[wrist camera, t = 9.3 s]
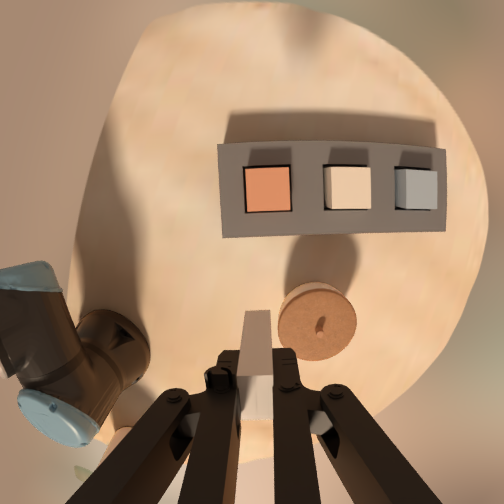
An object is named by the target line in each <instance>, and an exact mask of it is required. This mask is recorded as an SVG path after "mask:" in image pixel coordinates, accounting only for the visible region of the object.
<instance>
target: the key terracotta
mask: <svg viewBox="0 0 504 504" xmlns="http://www.w3.org/2000/svg"><path fill="white" fill-rule="evenodd" d="M245 172H246V192H247V211H248V212H251V211H276V210H290V185H289V167H282V168H256V169H245Z"/></svg>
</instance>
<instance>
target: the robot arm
mask: <svg viewBox="0 0 504 504" xmlns="http://www.w3.org/2000/svg"><path fill="white" fill-rule="evenodd" d="M62 292H63V290H62V288H60V286H59V283H58V281H57V278H56V276H55V273H54V270H53V268H52V266H51V265H50V264H49V263H47V262H45V261H35V262H30V263H26V264H22V265H18V266H13V267H9V268H4V269H0V377H1V378H4V379H7V378H9V377H11V376H12V375H14V374H16V376H17V378H18V379H19V381H20V383H21V385H22V387H23V389H22V390H20V391H19V395H18V397H17V400H18V405H19V408H20V409H21V411H22V413H23V415H24V416H25V417H26V418H27V420H28V421H29V422H30V423H31V424H32V425H33V426H34V427H35V428H37V429H38V430H39V431H40V432H42V433H43V434H44V435H46V436H47V437H49V438H50V439H52V440H54V441H56V442H58V443H60V444H63V445H66V446H69V447H75V448H78V447H84V446H86V445H88V444H89V443H90V442H91V440H92V439H93V437H94V436H95V435H96V434H97V433H98V432H99V430H100V428H101V426H102V425H103V423H104V421H105V419H106V418H107V416H108V414H109V412H110V411H111V409H112V407H113V405H114V404H115V402H116V400H117V399H118V397H119V395H120V394H121V392H122V391H123V390H125V389H127V388H128V387H130V386H131V385H132V384H134V383H136V382H138V381H139V380H140V379H141V378H142V377H143V375H144V374H145V372H146V370H147V368H148V366H149V363H150V352H149V347H148V344H147V342H146V340H145V338H144V336H143V335H142V333H141V332H140V331H139V329H138V328H137V327H136V326H135V325H134V324H133V323H132V322H131V321H129V320H128V319H127V318H125V317H124V316H122V315H120V314H118V313H116V312H113V311H109V310H96V311H93V312H90V313H89V314H87V315H86V316H85V317H84V318H83V319H82V320H81V321H80V322H79V323H78V325H77V327H76V328H75V326H74V323H73V321H72V318H71V316H70V313H69V310H68V307H67V305H66V302H65V299H64V296H63V293H62ZM204 377H205V383H206V388H207V389H206V391H204V392H202V393H198V394H193V395H189V394H188V392H187V391H186V390H183V389H180V388H173V389H169V390H166V391H164V392H163V393H162V394H161V395H160V396H159V397H158V398H157V400H156V401H155V402H154V403H153V404H152V405H151V407H150V408H149V409H148V410H147V411H146V412H145V414H144V415H143V416H142V417H141V418H140V419H139V421H138V422H137V423H136V424H135V425H134V426H133V428H132V429H131V430H130V431H129V432H128V433H127V435H126V436H125V437H124V438H123V439H122V440H121V441H120V443H119V444H118V445H117V446H116V447H115V448H114V449H113V451H112V452H111V453H110V454H109V455H108V456H107V457H106V459H105V460H104V461H103V462H102V463H101V464H100V465H99V466H98V468H97V469H96V470H95V471H94V472H93V473H92V474H91V475H90V477H89V478H88V479H87V480H86V481H85V482H84V483H83V485H82V486H81V487H80V488H79V489H78V490H77V491H76V492H75V493H74V495H72V497H71V498H70V499H69V500H68V501H67V502H66V503H65V504H158V502H159V501H160V499H161V498H162V496H163V495H164V493H165V491H166V490H167V488H168V487H169V485H170V484H171V482H172V480H173V479H174V477H175V476H176V474H177V473H178V471H179V469H180V468H181V466H182V465H183V463H184V461H185V460H186V458H187V456H188V455H189V453H190V455H189V459H188V463H187V468H186V471H185V476H184V480H183V484H182V488H181V492H180V496H179V500H178V504H234V503H235V492H236V480H237V469H238V459H239V448H240V436H241V422H240V420H273V437H274V492H275V493H274V494H275V495H274V496H275V504H321V500H320V492H319V485H318V478H317V471H316V465H315V458H314V451H313V444H312V437H311V433H312V434H316V435H317V438H318V440H319V442H320V444H321V445H322V447H323V449H324V451H325V453H326V455H327V456H328V458H329V460H330V462H331V464H332V465H333V467H334V469H335V471H336V472H337V474H338V476H339V478H340V480H341V481H342V483H343V485H344V487H345V488H346V490H347V492H348V494H349V495H350V497H351V499H352V501H353V502H354V504H442V503H441V501H440V500H439V499H438V498H437V496H436V495H435V494H434V493H433V492H432V491H431V489H430V488H429V487H428V485H427V484H426V483H425V482H424V481H423V479H422V478H421V477H420V476H419V475H418V473H417V472H416V471H415V469H414V468H413V467H412V466H411V465H410V463H409V462H408V461H407V460H406V458H405V457H404V456H403V455H402V454H401V452H400V451H399V450H398V449H397V447H396V446H395V445H394V444H393V442H392V441H391V440H390V439H389V437H388V436H387V435H386V434H385V433H384V431H383V430H382V429H381V427H380V426H379V425H378V424H377V422H376V421H375V420H374V419H373V417H372V416H371V415H370V414H369V412H368V411H367V410H366V409H365V407H364V406H363V405H362V404H361V402H360V401H359V400H358V399H357V397H356V396H355V395H354V394H353V392H352V391H351V390H350V389H349V388H348V387H347V386H344V385H341V384H331V385H328V386H325V387H324V388H323V389H322V390H321V391H314V390H310V389H308V388H306V387H304V386H303V385H302V383H301V381H300V375H299V369H298V364H297V358H296V352H295V351H294V350H293V349H292V348H272V338H271V317H270V310H259V311H245V317H244V324H243V332H242V339H241V347H240V350H224V351H223V352H222V353H221V354H220V355H219V356H218V360H217V364H216V366H214V367H211V368H209V369H208V370H206V372H205V373H204Z"/></svg>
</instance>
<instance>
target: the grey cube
mask: <svg viewBox="0 0 504 504" xmlns="http://www.w3.org/2000/svg"><path fill="white" fill-rule="evenodd" d="M394 176H395V206H397V207H401V208H405V209H437V172H436V171H424V170H409V169H401V170H394Z"/></svg>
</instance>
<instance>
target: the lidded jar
mask: <svg viewBox="0 0 504 504" xmlns="http://www.w3.org/2000/svg"><path fill="white" fill-rule="evenodd" d="M356 325H357V319H356V313H355V311H354V308H353V307H352V305H351V303H350V302H349V301H348V300H347V298H345V296H344V295H343V294H342V293H341V292H340V291H338V290H337V289H336V288H334V287H332V286H330V285H328V284H325V283H321V282H310V283H306V284H303V285H300V286H298V287H296V288H295V289H293V290H292V291H291V292H290V293H289V294H288V295H287V296H286V298H285V299H284V301H283V303H282V305H281V307H280V311H279V316H278V336H279V339H280V342H281V344H282V346H283V347H284V348H292V349H293V350H294V351H295V352H296V357H297V358H299V359H302V360H307V361H319V360H324V359H328V358H330V357H333V356H335V355H336V354H338V353H339V352H341V351H342V350H343V349H344V348H345V347H346V346H347V345H348V344H349V342H350V341H351V339H352V338H353V336H354V333H355V330H356Z"/></svg>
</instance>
